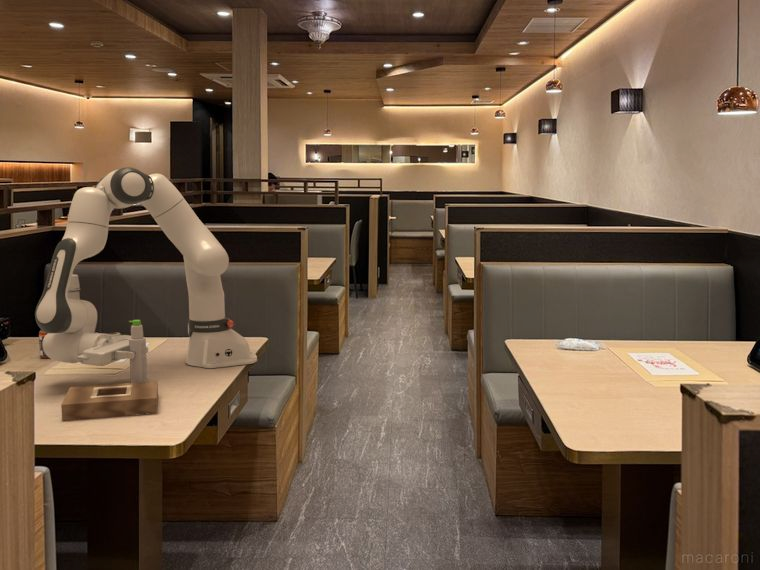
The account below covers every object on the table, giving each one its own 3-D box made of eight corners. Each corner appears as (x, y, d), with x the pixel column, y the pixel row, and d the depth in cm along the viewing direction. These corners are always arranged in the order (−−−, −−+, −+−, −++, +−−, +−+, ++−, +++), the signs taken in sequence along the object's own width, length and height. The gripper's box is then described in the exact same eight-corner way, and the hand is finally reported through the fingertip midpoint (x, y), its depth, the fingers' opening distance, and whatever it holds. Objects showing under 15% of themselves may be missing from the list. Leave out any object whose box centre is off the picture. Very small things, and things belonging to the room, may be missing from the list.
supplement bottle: (40, 360, 239) (38, 325, 237) (39, 356, 244) (37, 322, 242) (60, 358, 241) (58, 324, 240) (59, 354, 247) (57, 321, 245)
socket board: (158, 395, 200) (157, 380, 199) (156, 413, 184) (156, 396, 184) (70, 401, 194) (69, 386, 193) (62, 420, 178) (61, 403, 178)
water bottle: (78, 348, 255) (74, 277, 251) (55, 348, 255) (51, 276, 251) (89, 342, 264) (85, 273, 260) (67, 342, 264) (63, 273, 260)
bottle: (133, 389, 205) (130, 318, 202) (149, 389, 205) (146, 318, 202) (129, 394, 201) (126, 322, 198) (145, 393, 201) (142, 321, 198)
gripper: (71, 346, 195) (116, 349, 191) (119, 331, 214) (161, 334, 210) (72, 369, 196) (117, 373, 192) (120, 352, 215) (161, 355, 211)
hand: (140, 352), depth 201 cm, fingers closed on bottle, 4 cm apart
